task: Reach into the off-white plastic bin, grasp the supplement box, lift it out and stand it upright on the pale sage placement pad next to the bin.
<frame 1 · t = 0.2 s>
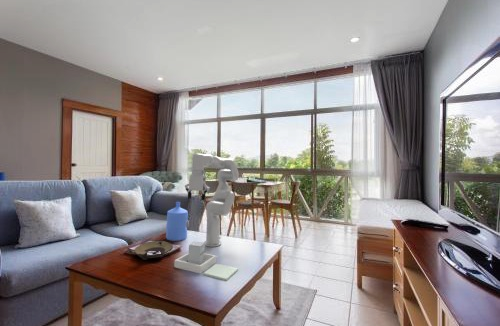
hand: (196, 199, 162), 36 cm above the table, tool pointing down, fingers open, 9 cm apart
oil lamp: (150, 256, 158), on the table
water jug: (176, 238, 196), on the table
supplement box: (196, 265, 149), resting in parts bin
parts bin: (196, 264, 149), on the table
placement pad: (221, 272, 140), on the table
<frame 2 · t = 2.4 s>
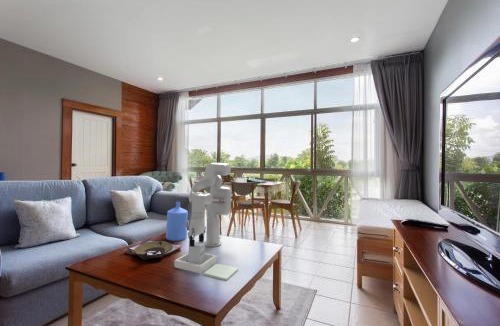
hand: (196, 244, 148), 12 cm above the table, tool pointing down, fingers open, 9 cm apart
supplement box: (195, 265, 149), resting in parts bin, touching gripper
everything else where it was.
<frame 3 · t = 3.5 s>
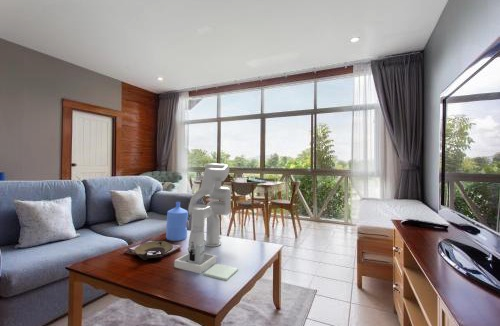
hand: (196, 257, 149), 4 cm above the table, tool pointing down, fingers closed on supplement box, 8 cm apart
supplement box: (196, 265, 149), resting in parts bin, touching gripper
everything else where it was.
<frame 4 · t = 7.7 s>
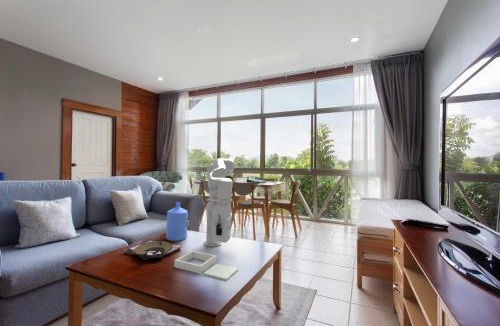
hand: (222, 232, 140), 22 cm above the table, tool pointing down, fingers closed on supplement box, 8 cm apart
supplement box: (222, 240, 140), point 18 cm above the table, touching gripper
everything else where it was.
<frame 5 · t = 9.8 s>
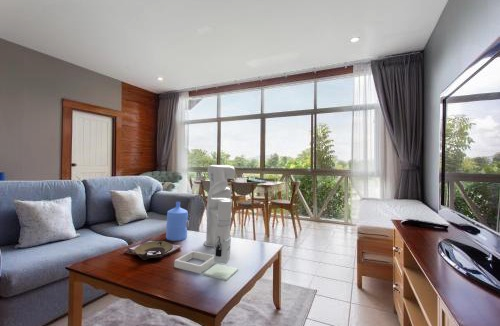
hand: (222, 253, 140), 11 cm above the table, tool pointing down, fingers closed on supplement box, 8 cm apart
supplement box: (221, 261, 140), point 6 cm above the table, touching gripper
everything else where it was.
when the fingers open (6 cm above the table, at t = 11.7 s): supplement box drops 1 cm, resting on placement pad.
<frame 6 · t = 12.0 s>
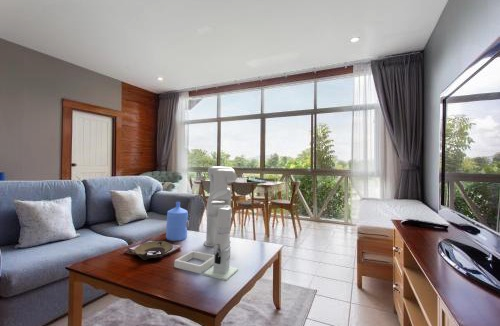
hand: (221, 260, 140), 7 cm above the table, tool pointing down, fingers open, 9 cm apart
supplement box: (221, 270, 141), point 1 cm above the table, touching placement pad
everything else where it was.
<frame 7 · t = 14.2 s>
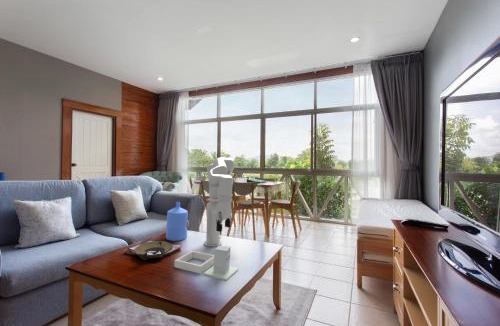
hand: (223, 229, 140), 24 cm above the table, tool pointing down, fingers open, 9 cm apart
nothing on the table moved.
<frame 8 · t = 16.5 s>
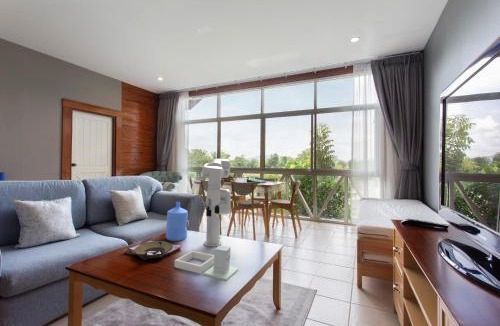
hand: (212, 214, 156), 28 cm above the table, tool pointing down, fingers open, 9 cm apart
nothing on the table moved.
at the end: supplement box inside the target area on the placement pad (0.4 cm from its centre), point 0.8 cm above the placement pad's base; supplement box tilted 0°; the gripper is holding nothing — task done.
